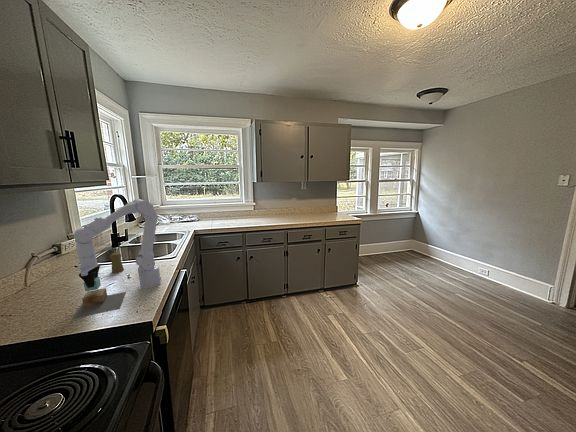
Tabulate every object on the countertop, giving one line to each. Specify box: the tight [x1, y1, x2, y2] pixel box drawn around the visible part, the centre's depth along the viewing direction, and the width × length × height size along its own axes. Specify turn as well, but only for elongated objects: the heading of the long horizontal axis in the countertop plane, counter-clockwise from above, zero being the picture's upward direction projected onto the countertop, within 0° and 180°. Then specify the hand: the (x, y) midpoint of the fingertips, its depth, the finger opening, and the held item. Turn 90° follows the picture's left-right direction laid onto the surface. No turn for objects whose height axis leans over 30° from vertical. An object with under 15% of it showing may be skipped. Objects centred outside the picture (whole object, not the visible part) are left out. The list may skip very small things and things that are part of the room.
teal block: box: [83, 276, 102, 292], centre depth 107 cm, size 4×4×4 cm
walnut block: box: [81, 287, 108, 307], centre depth 108 cm, size 7×7×4 cm
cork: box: [109, 252, 125, 274], centre depth 140 cm, size 6×6×11 cm
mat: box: [71, 291, 127, 320], centre depth 106 cm, size 16×16×1 cm
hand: (92, 284), depth 107 cm, fingers closed on teal block, 4 cm apart
